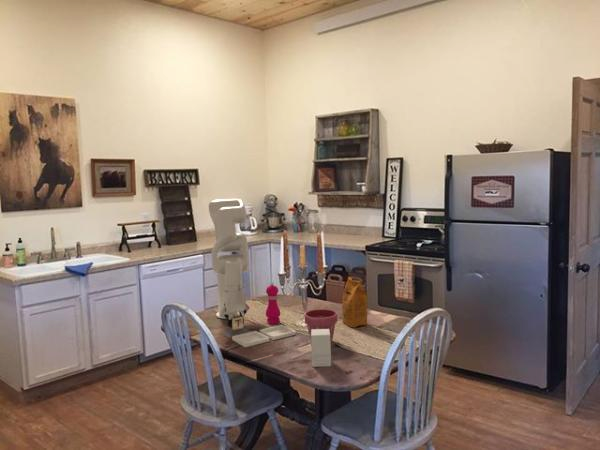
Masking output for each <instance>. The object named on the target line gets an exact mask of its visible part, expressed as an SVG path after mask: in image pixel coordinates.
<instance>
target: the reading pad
mask: <svg viewBox="0 0 600 450" xmlns="http://www.w3.org/2000/svg"><path fill="white" fill-rule="evenodd" d="M249 332H253V331H252V330H250V329H248V328H246V327H244V326H243V328H240V329H235V330H233V329H231V328H230V329H228V330H223V331H219V333H220V334H221V335H223V336H224V337H226V338H228V339H232V336H236V335H240V334H244V333H249Z"/></svg>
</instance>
